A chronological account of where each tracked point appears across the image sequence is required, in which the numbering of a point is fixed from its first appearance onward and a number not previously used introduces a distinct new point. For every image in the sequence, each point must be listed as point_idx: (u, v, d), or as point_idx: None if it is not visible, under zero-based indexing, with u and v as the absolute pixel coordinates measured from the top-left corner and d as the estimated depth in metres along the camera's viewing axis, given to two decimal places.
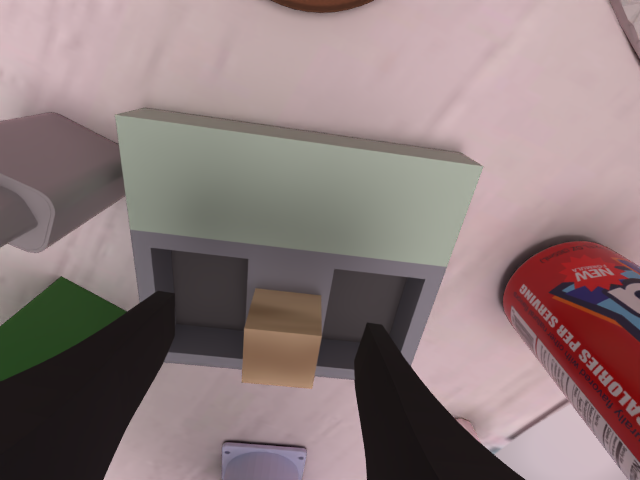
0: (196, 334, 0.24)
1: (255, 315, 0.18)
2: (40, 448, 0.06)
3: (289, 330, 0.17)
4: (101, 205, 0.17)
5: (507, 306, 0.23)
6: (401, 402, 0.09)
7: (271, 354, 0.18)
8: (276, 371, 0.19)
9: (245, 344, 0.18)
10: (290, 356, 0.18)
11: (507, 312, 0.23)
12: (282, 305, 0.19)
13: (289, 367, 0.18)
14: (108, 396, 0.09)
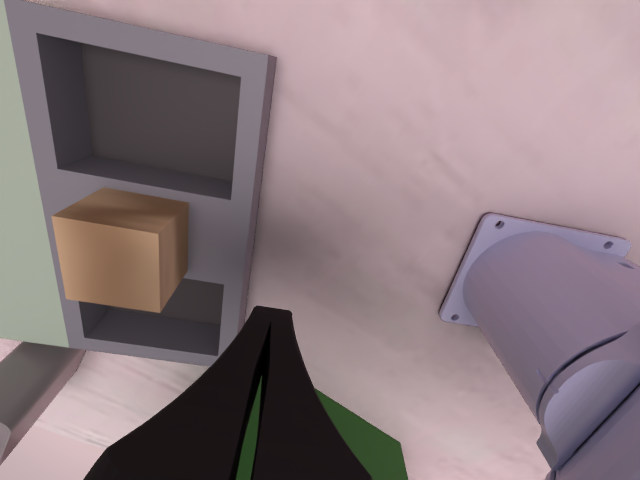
0: None
1: None
2: (232, 468, 0.06)
3: (60, 251, 0.14)
4: (44, 362, 0.21)
5: None
6: (267, 385, 0.08)
7: (101, 276, 0.14)
8: (131, 274, 0.14)
9: (92, 300, 0.15)
10: (99, 255, 0.14)
11: None
12: None
13: (121, 259, 0.14)
14: (246, 413, 0.09)
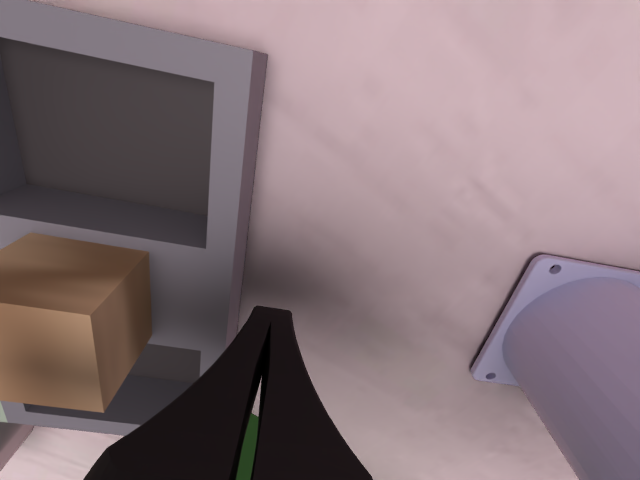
0: None
1: None
2: (232, 468, 0.06)
3: None
4: None
5: None
6: (267, 385, 0.08)
7: (14, 369, 0.10)
8: (57, 366, 0.10)
9: (6, 398, 0.10)
10: (7, 343, 0.09)
11: None
12: None
13: (40, 347, 0.09)
14: (246, 413, 0.09)
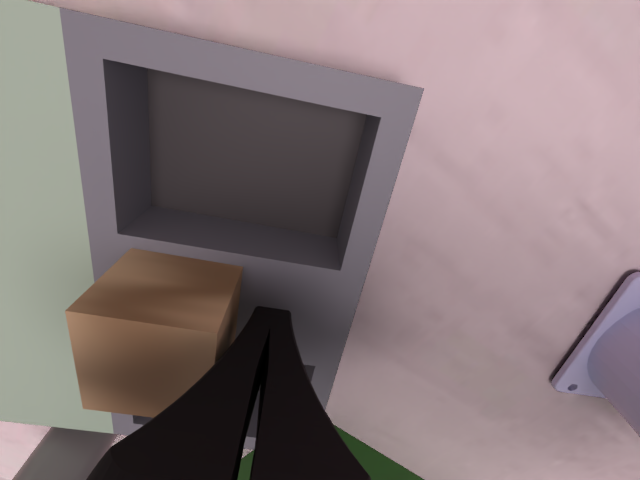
0: None
1: None
2: (234, 469, 0.06)
3: (76, 352, 0.10)
4: (83, 451, 0.17)
5: None
6: (266, 385, 0.08)
7: (132, 383, 0.10)
8: (175, 381, 0.10)
9: (118, 411, 0.11)
10: (131, 359, 0.10)
11: None
12: None
13: (161, 363, 0.10)
14: (248, 413, 0.09)
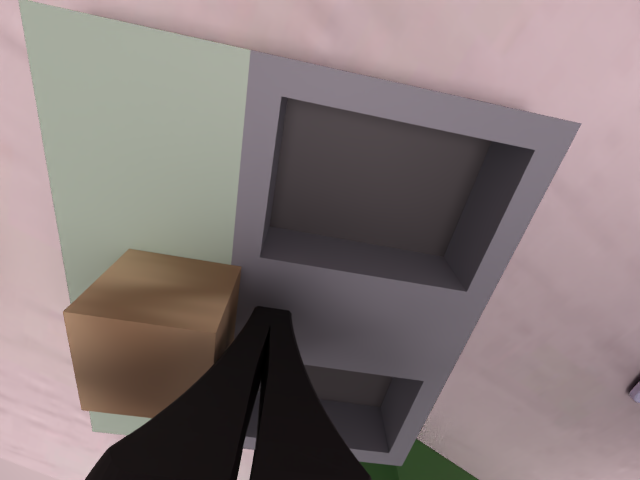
0: (392, 400, 0.18)
1: None
2: (234, 468, 0.06)
3: (74, 353, 0.10)
4: None
5: None
6: (266, 385, 0.08)
7: (131, 384, 0.10)
8: (174, 381, 0.10)
9: (117, 412, 0.11)
10: (130, 360, 0.10)
11: None
12: None
13: (160, 364, 0.10)
14: (247, 413, 0.09)
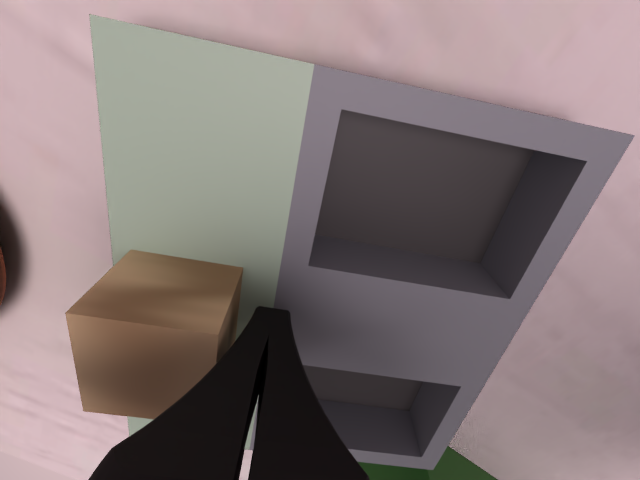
0: (423, 404, 0.19)
1: None
2: (236, 469, 0.06)
3: (76, 354, 0.10)
4: None
5: None
6: (265, 384, 0.08)
7: (133, 385, 0.10)
8: (176, 382, 0.10)
9: (119, 413, 0.11)
10: (132, 361, 0.10)
11: None
12: None
13: (163, 365, 0.10)
14: (249, 413, 0.09)
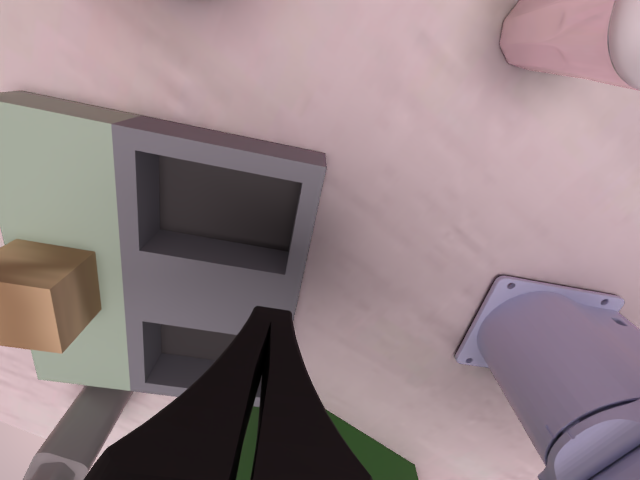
0: None
1: None
2: (233, 468, 0.06)
3: None
4: (108, 403, 0.23)
5: None
6: (267, 385, 0.08)
7: (5, 324, 0.16)
8: (32, 322, 0.16)
9: None
10: (0, 307, 0.16)
11: None
12: None
13: (20, 309, 0.16)
14: (246, 413, 0.09)
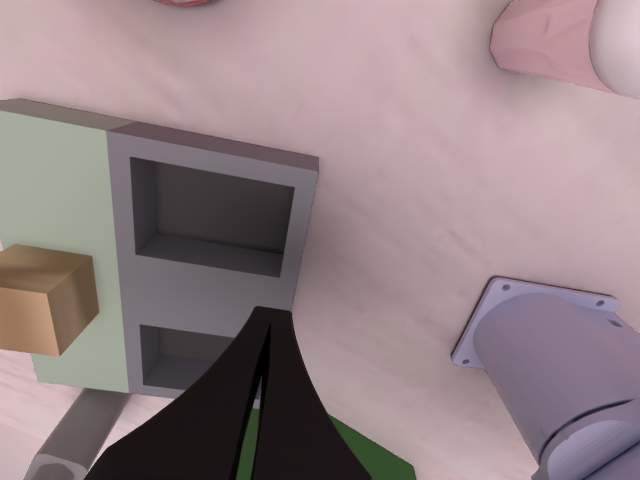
0: None
1: None
2: (232, 469, 0.06)
3: None
4: (107, 405, 0.24)
5: (191, 3, 0.14)
6: (267, 385, 0.08)
7: (3, 327, 0.16)
8: (29, 326, 0.16)
9: None
10: None
11: (203, 0, 0.14)
12: None
13: (18, 313, 0.16)
14: (246, 413, 0.09)
